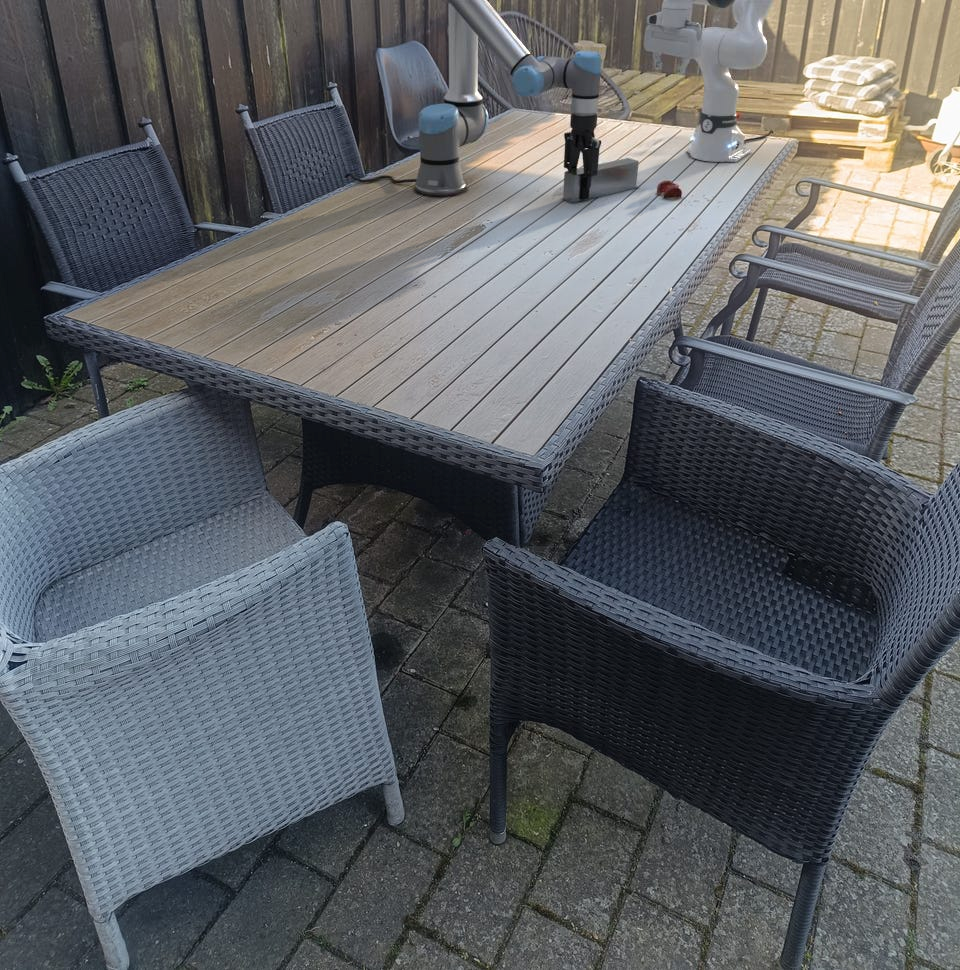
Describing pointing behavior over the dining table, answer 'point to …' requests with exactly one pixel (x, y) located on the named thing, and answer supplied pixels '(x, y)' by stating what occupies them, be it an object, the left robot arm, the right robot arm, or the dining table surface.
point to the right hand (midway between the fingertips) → (669, 71)
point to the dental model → (669, 189)
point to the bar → (602, 179)
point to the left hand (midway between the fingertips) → (578, 196)
